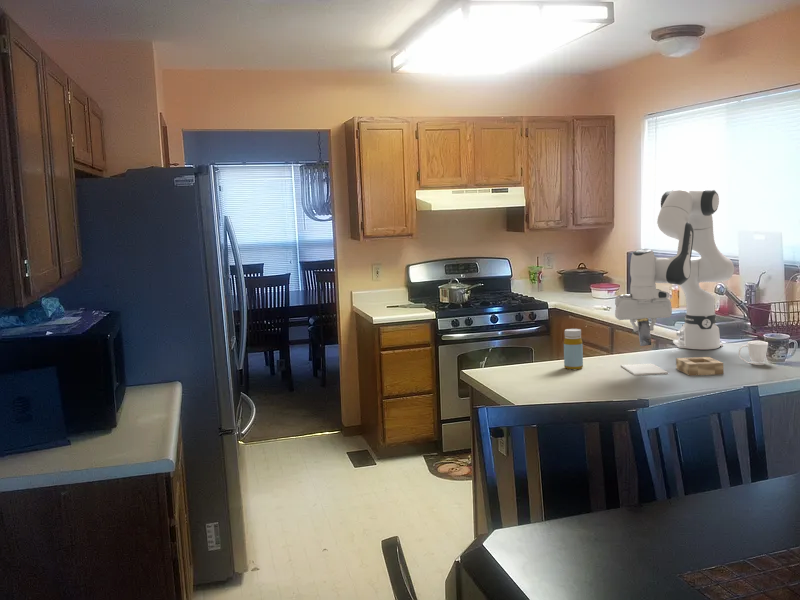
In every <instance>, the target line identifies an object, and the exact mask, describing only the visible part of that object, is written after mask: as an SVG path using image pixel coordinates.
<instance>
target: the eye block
mask: <svg viewBox="0 0 800 600" xmlns="http://www.w3.org/2000/svg"><path fill="white" fill-rule="evenodd" d="M675 365H676V366H675V369H676V370H678V371H679V372H682V373H684V374H686V375H688V376H690V377H691V376H710V375H711V376H712V375H713V376H714V375H716V376H717V375H724V362H722V361H719V360H717V359H715V358H712V357H710V356H700V357H699V356H696V357H694V356H693V357H692V356H691V357H677V358H676V357H675Z"/></svg>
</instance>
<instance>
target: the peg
mask: <svg viewBox="0 0 800 600" xmlns="http://www.w3.org/2000/svg"><path fill="white" fill-rule="evenodd" d="M636 323H637V326H638V327H639V331H637V332H638V338H639V346H640V347H644V346H652V336H651V331H650V328H649V325H650V319H647V318H643V319H636Z"/></svg>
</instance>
